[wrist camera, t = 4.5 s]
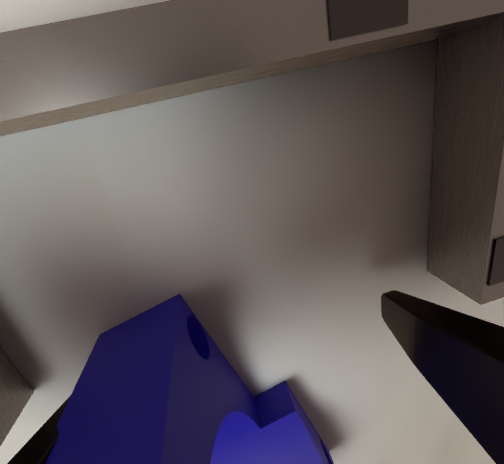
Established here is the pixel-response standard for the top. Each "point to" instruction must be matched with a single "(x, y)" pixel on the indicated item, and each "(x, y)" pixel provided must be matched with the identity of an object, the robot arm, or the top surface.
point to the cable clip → (177, 402)
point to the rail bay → (273, 63)
